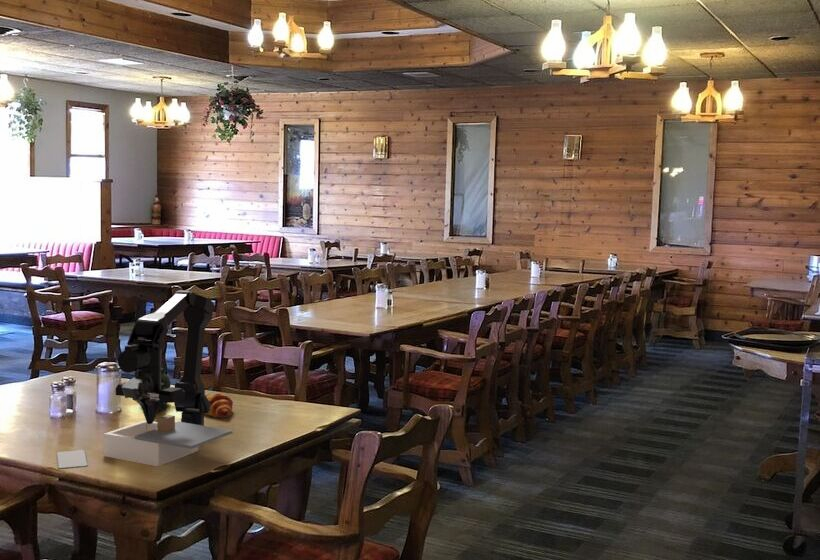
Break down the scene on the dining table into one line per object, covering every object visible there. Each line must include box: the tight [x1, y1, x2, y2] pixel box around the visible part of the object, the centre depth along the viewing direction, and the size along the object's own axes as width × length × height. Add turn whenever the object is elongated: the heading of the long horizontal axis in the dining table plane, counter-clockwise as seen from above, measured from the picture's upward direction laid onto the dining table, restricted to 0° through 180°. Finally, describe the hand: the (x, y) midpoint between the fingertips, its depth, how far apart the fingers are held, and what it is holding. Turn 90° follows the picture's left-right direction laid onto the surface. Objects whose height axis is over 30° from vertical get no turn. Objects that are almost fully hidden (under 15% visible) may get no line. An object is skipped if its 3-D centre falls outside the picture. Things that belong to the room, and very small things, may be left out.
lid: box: [135, 414, 233, 449], centre depth 224 cm, size 17×18×4 cm
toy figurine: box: [154, 372, 171, 411], centre depth 278 cm, size 9×19×25 cm
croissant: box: [204, 392, 234, 419], centre depth 274 cm, size 21×10×8 cm, turn 30°
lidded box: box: [103, 420, 199, 467], centre depth 229 cm, size 16×18×6 cm
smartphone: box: [56, 449, 89, 470], centre depth 222 cm, size 7×1×15 cm
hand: (149, 423), depth 229 cm, fingers closed
